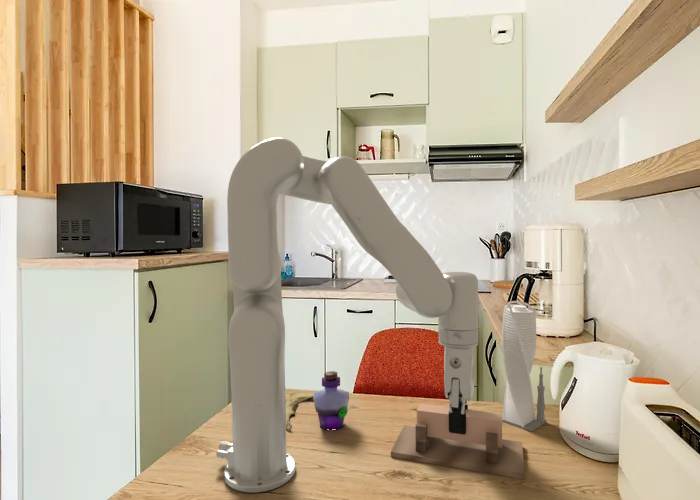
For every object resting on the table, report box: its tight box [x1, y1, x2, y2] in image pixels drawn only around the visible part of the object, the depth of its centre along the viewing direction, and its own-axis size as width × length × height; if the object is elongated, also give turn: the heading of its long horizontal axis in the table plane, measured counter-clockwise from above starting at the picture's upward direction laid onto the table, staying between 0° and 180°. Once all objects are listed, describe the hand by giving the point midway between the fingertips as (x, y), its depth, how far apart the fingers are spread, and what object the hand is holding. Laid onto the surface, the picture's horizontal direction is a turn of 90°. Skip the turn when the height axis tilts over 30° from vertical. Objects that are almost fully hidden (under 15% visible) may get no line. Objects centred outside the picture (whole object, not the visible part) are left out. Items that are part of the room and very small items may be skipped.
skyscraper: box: [501, 300, 547, 432], centre depth 98 cm, size 8×8×28 cm
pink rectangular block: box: [416, 403, 503, 448], centre depth 85 cm, size 16×4×5 cm, turn 70°
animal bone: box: [286, 391, 316, 432], centre depth 106 cm, size 21×2×10 cm
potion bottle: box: [312, 370, 350, 432], centre depth 98 cm, size 9×9×12 cm
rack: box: [390, 422, 525, 480], centre depth 86 cm, size 24×12×6 cm, turn 70°
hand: (458, 427), depth 85 cm, fingers closed on pink rectangular block, 3 cm apart
